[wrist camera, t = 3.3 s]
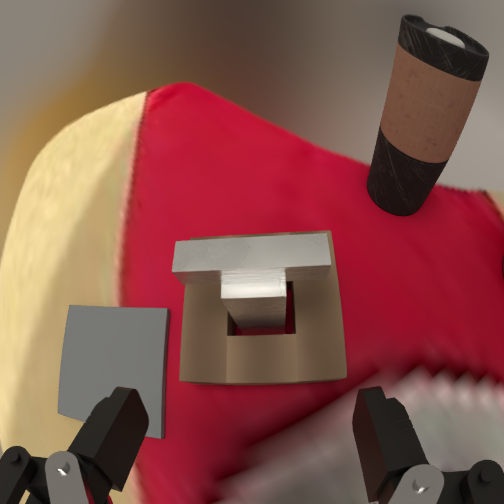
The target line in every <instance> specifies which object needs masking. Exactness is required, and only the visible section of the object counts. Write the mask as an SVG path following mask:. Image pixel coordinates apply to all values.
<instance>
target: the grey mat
mask: <svg viewBox="0 0 504 504" xmlns="http://www.w3.org/2000/svg"><path fill="white" fill-rule="evenodd" d="M169 321H170V310H169V309H168V308H128V307H99V306H78V305H69V310H68V316H67V322H66V328H65V335H64V342H63V349H62V358H61V368H60V380H59V396H58V414H61V415H64V416H67V417H70V418H74V419H77V420H80V421H83V422H86V419H87V418H88V416H90V413H91V412H92V410H93V409H94V407H95V405H96V404H97V403H99V402H100V401H101V400H102V399H104V398H105V397H110V395H111V394H112V392H113V391H114V389H115V388H116V387H118V386H120V387H126V388H133V389H136V390H137V391H138V392H139V395H140V397H141V399H142V402H143V404H144V406H145V409H146V411H147V413H148V416H149V427H148V430H147V432H146V435H145V436H147V437H153V438H159V439H162V438H165V386H166V364H167V347H168V333H169Z"/></svg>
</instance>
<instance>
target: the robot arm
mask: <svg viewBox="0 0 504 504" xmlns="http://www.w3.org/2000/svg"><path fill="white" fill-rule="evenodd" d="M503 273H504V258H503ZM352 425H353V433H354V437H355V441H356V445H357V449H358V454H359V458H360V463H361V467H362V472H363V476H364V481H365V486H366V491H367V496H368V501H369V503H370V502H375V501H379V504H504V472H503V470H502V468H501V466H500V465H499V464H498V463H496V462H495V461H492V460H482V461H479V462H477V463H476V464H475V465H474V466H473V467H472V468H471V469H470V470H468V471H458V472H442V471H440V470H439V469H438V468H436V467H434V466H432V465H430V464H429V463H428V461H427V459H426V457H425V454H424V452H423V449H422V447H421V444H420V442H419V439H418V437H417V435H416V432H415V430H414V428H413V425H412V423H411V421H410V419H409V416H408V414H407V411H406V409H405V407H404V406H403V405H402V404H401V403H400V402H399V401H398V400H397V399H396V398H395V397H394V398H389V399H386V397H385V395H384V392H383V390H382V388H381V387H380V386H377V387H370V388H364V389H359V391H358V395H357V400H356V404H355V409H354V413H353V420H352ZM148 427H149V416H148V413H147V411H146V409H145V406H144V404H143V402H142V399H141V397H140V395H139V392H138V391H137V390H136V389H133V388H126V387H120V386H118V387H116V388H115V389H114V391H113V392H112V394H111V395H110V397H105V398H104V399H102V400H101V401H100V402H99V403H97V404H96V405H95V407H94V409H93V410H92V412H91V413H90V416H88V418H87V419H86V423H84V424H83V426H82V427H81V429H80V431H79V432H78V434H77V435H76V437H75V439H74V440H73V442H72V444H71V445H70V447H69V448H68V450H67V451H59V452H56V453H53V454H52V455H51V456H50V457H49V458H42V457H33V456H31V455H30V454H29V453H28V452H27V450H26V449H25V448H23V447H21V446H13V447H10V448H9V449H7V450H6V451H5V453H4V454H3V456H2V457H1V459H0V504H19V502H20V500H21V498H22V496H23V494H24V492H25V490H27V491H28V492H29V493H30V495H29V497H28V499H27V501H26V503H25V504H113V502H112V500H111V497H110V496H109V492H110V490H111V489H114V490H117V491H120V492H122V490H123V487H124V485H125V483H126V480H127V478H128V475H129V473H130V470H131V468H132V466H133V463H134V461H135V458H136V456H137V454H138V451H139V449H140V447H141V444H142V442H143V440H144V437H145V435H146V432H147V430H148Z"/></svg>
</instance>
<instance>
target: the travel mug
mask: <svg viewBox="0 0 504 504" xmlns="http://www.w3.org/2000/svg"><path fill="white" fill-rule="evenodd" d="M488 59H489V52H488V51H487V50H486V49H485V48H484V47H483V46H482V45H481V44H480V43H478V42H477V41H476V40H474V39H473V38H471V37H469V36H468V35H466V34H465V33H463V32H461V31H459V30H457V29H455V28H452V27H450V26H445V27H437V26H434V25H431V24H429V23H427V22H425V21H424V19H423V18H422V17H420V16H417V15H410V14H407V15H403V16H402V19H401V25H400V32H399V37H398V43H397V49H396V54H395V60H394V65H393V70H392V75H391V79H390V84H389V88H388V93H387V98H386V102H385V106H384V110H383V114H382V118H381V122H380V127H379V132H378V137H377V141H376V146H375V150H374V155H373V159H372V163H371V167H370V171H369V176H368V180H367V189H368V192H369V195H370V197H371V198H372V200H373V201H374V202H375V203H376V204H377V205H378V206H379V207H380V208H382V209H383V210H385V211H387V212H389V213H391V214H394V215H399V216H407V215H411V214H413V213H415V212H417V211H418V210H419V208H420V207H421V206H422V204H423V203H424V201H425V200H426V198H427V196H428V195H429V193H430V191H431V190H432V188H433V186H434V185H435V183H436V181H437V180H438V178H439V176H440V174H441V173H442V171H443V169H444V167H445V166H446V164H447V162H448V160H449V158H450V156H451V154H452V152H453V150H454V148H455V146H456V144H457V141H458V139H459V137H460V135H461V132H462V130H463V128H464V125H465V123H466V120H467V118H468V116H469V113H470V111H471V108H472V106H473V103H474V101H475V98H476V95H477V93H478V90H479V87H480V84H481V81H482V78H483V75H484V72H485V69H486V66H487V62H488Z"/></svg>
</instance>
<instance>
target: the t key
mask: <svg viewBox="0 0 504 504" xmlns="http://www.w3.org/2000/svg"><path fill="white" fill-rule="evenodd" d="M330 267H331V258H330V251H329V244H328V238H327V233H321V234H300V235H280V236H260V237H242V238H225V239H208V240H191V241H176V245H175V252H174V260H173V268H172V272H173V274H174V275H175V276H176V277H177V279H178V280H179V281H180V282H181V284H182V285H204V284H221V300H222V301H223V303H224V305H225V306H226V308H227V310H228V311H229V313H230V315H231V316H232V318H233V320H234V321H235V323H236V325H237V326H238V328H239V330H240V331H241V333H242V334H243V336H255V335H283V334H285V320H286V281H301V280H318V279H327V276H328V273H329V270H330Z"/></svg>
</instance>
